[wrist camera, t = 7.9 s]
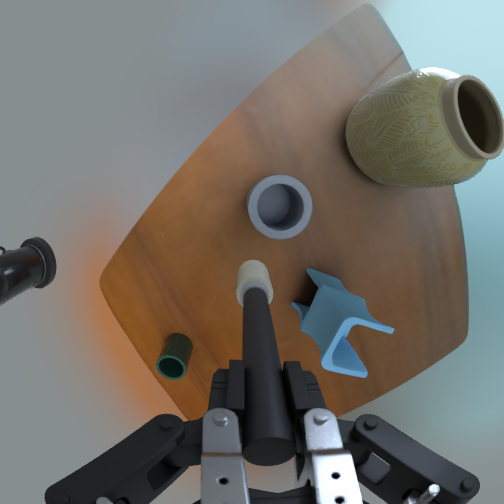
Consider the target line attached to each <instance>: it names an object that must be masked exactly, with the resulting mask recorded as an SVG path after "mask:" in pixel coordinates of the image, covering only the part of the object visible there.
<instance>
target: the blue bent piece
mask: <svg viewBox="0 0 504 504" xmlns="http://www.w3.org/2000/svg"><path fill="white" fill-rule="evenodd" d="M306 272H307V273H308V274H309V276H310V277H311V279H312V280H313V281H314V283H315V284H316V285H317V286H318V287H319V288H318V291H317V293H316V295H315V298H314V300H313V302H312V304H311V306H310V307H308V306H305V305H302V304H299V303H296V302H293V301H292V303H291V305H290V306H292V307H293V308H294V309H296V310H297V312H298V313H299V316H300V330H301V331H302V332H304V333H306V334H308V335H309V336H311V337H312V338H313V339H314V340H315V341H316V343H317V345H318V347H319V351H320V359H321V365H322V367H323V368H324V369H326V370H329V371H333V372H338V373H343V374H348V375H352V376H358V377H363V378H365V377H366V376H367V374H368V372H367V370H366V368H365V367H364V365H363V363H362V362H361V360H360V359H359V357H358V356H357V354H356V353H355V351H354V350H353V348H352V347H351V345H350V344H349V342H348V341H347V340H346V337H347V335H348V333H349V331H350V329H351V327H352V326H353V325H356V324H360V325H364V326H367V327H370V328H373V329H377V330H380V331H383V332H387V333H390V334H392V333H393V331H394V329H393V328H391V327H389V326H387V325H384V324H382V323H380V322H379V321H377V320H375V319H374V318H373V317H372V316H371V315H370V314H369V312H368V310H367V307H366V302H365V300H364V299H363V298H361V297H359V296H356V295H354V294H352V293H350V292H349V291H347V290H346V289H345V288H344V286H343V284H342V282H341V281H340V280H339V279H337V278H335V277H332V276H330V275H327V274H325V273H322V272H319V271H317V270H314V269H311V268H309V267H308V268H307V270H306Z"/></svg>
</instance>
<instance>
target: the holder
mask: <svg viewBox="0 0 504 504" xmlns="http://www.w3.org/2000/svg"><path fill="white" fill-rule="evenodd" d="M192 348H193V346H192V342H191V341H190V339H189V338H188V337H186V336H185V335H182V334H173V335H171V336H169V337H168V339H167V340H166V342H165V345H164V347H163V349H162V351H161V353H160V356H159V358H158V360H157V363H156V366H157V370H158V371H159V373H160V374H161V375H162V376H164V377H165V378H168V379H171V380H178V379H181V378H182V377H184V376H185V374H186V371H187V368H188V364H189V360H190V357H191V353H192Z"/></svg>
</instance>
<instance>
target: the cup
mask: <svg viewBox="0 0 504 504" xmlns="http://www.w3.org/2000/svg"><path fill="white" fill-rule="evenodd" d="M246 207H247V211H248V214H249V217H250V220H251V222H252V223H253V225H254V226H255V228H256V229H257V230H258V231H259V232H260V233H262V234H263V235H265V236H267V237H269V238H272V239H288V238H291V237H294V236H296V235H297V234H299V233H300V232H302V231H303V229H304V228H305V227H306V226H307V225H308V223H309V220H310V218H311V215H312V200H311V196H310V193H309V192H308V190H307V189H306V187H305V186H304V185H303V184H302V183H301V182H300V181H299V180H297V179H295V178H293V177H290V176H287V175H274V176H270V177H267V178H265V179H263V180H261V181H259V182H257V183H256V184H254V185H253V186H252V187H251V189H250V190H249V192H248V194H247V197H246Z"/></svg>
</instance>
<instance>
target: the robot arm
mask: <svg viewBox="0 0 504 504" xmlns="http://www.w3.org/2000/svg"><path fill="white" fill-rule="evenodd" d="M0 249H1V250H2V251H3V253H2V255H0V305H2V304H4V303H5V302H7V301H9V300H10V299H12V298H14V297H15V296H17V295H19V294H21V293H22V292H24V291H26V290H28V289H30V288H31V287H32V288H33V287H34V286H35V285H37V284H39V283H41V282H43V281H44V279H45V277H46V274H47V263H46V259H45V257H44V254H43V253H42V251H41V250H40V249H39V248H38V247H37V246H35V245H33V244H30V245H26V246H25V247H22V248H19V249H16V250H8V251H6V250H5V249H4V248H3V247H0ZM32 288H31V289H32ZM282 373H283V378H284V383H285V388H286V393H287V398H288V403H289V408H290V413H291V419H292V424H293V429H294V434H295V439H296V444H297V452H296V454H295V456H294V469H295V489H293V490H289V491H285V492H282V493H273V492H268V491H262V490H256V489H251V488H248V484H247V477H246V470H245V462H244V456H243V453H242V452H241V444H240V443H242V426H243V424H244V409H245V404H244V360H230V362H229V369H218V370H217V371H216V372H215V373H214V374H213V379H212V386H211V392H210V399H209V405H208V411H207V412H206V413H205V414H204V416H203V417H201V418H200V419H197V420H193V421H186V422H183V421H182V420H181V419H180V418H179V417H178V416H175V415H172V414H161V415H158V416H156V417H154V418H153V419H151V420H150V421H149V422H147V423H146V424H145V425H143V426H142V427H140V428H139V429H138V430H136V431H135V432H134V433H132V434H131V435H129V436H128V437H126V438H125V439H124V440H122V441H121V442H119V443H118V444H116V445H115V446H114V447H112V448H110V449H109V450H108V451H106V452H105V453H103V454H102V455H100V456H99V457H97V458H96V459H94V460H92V461H91V462H89V463H88V464H86V465H85V466H83V467H81V468H80V469H78V470H77V471H75V472H74V473H72V474H70V475H68V476H67V477H65V478H64V479H62V480H60V481H58V482H57V483H55V484H53V485H51V486H50V487H49V488H48V489H47V490H46V492H45V502H46V504H149V503H150V502H151V501H153V500H154V499H155V498H156V497H157V496H158V495H159V494H161V493H162V492H163V491H164V490H165V489H166V488H167V487H169V486H170V485H171V484H172V483H173V482H174V481H175V480H176V479H177V478H178V477H179V476H180V475H181V474H182V473H183V472H185V471H186V470H187V469H188V467H189V466H194V465H201V499H200V500H198V501H196V502H195V503H193V504H369V503H367V502H365V501H364V500H363V499H362V498H361V493H360V489H359V484H358V481H359V482H360V483H362V484H363V485H364V486H365V487H367V488H368V489H369V490H370V491H372V492H373V493H374V494H376V495H377V496H378V497H380V498H381V499H383V500H384V501H385V502H387V503H388V504H466V503H467V502H468V501H469V500H471V499H472V498H473V497H474V496H475V495H476V494H477V493H478V491H479V488H480V483H479V480H478V478H477V477H476V476H475V475H473V474H471V473H470V472H468V471H466V470H464V469H462V468H461V467H459V466H457V465H455V464H453V463H452V462H450V461H448V460H447V459H445V458H443V457H441V456H440V455H438V454H436V453H435V452H433V451H431V450H430V449H428V448H426V447H425V446H423V445H422V444H420V443H418V442H417V441H415V440H413V439H412V438H411V437H409V436H407V435H406V434H404V433H403V432H401V431H400V430H398V429H397V428H395V427H394V426H392V425H390V424H389V423H387V422H386V421H384V420H383V419H381V418H380V417H378V416H376V415H371V414H365V415H361V416H360V417H358V418H357V419H356V421H355V422H353V421H345V420H340V419H337V418H336V416H335V415H334V413H332V412H331V411H329V410H327V407H326V405H325V402H324V399H323V396H322V393H321V390H320V388H319V385H318V382H317V379H316V377H315V376H314V375H313V374H312V373H311V372H310V371H302V368H301V365H300V362H299V361H285V362H284V365H283V371H282ZM372 452H373V453H374V454H376V455H377V456H379V457H380V458H381V459H383V460H384V461H385V462H387V463H388V464H389V465H390V466H389V465H387V464H386V463H385V462H383V461H382V460H380V459H379V458H378V457H376V456H375V455H374V454H372Z"/></svg>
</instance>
